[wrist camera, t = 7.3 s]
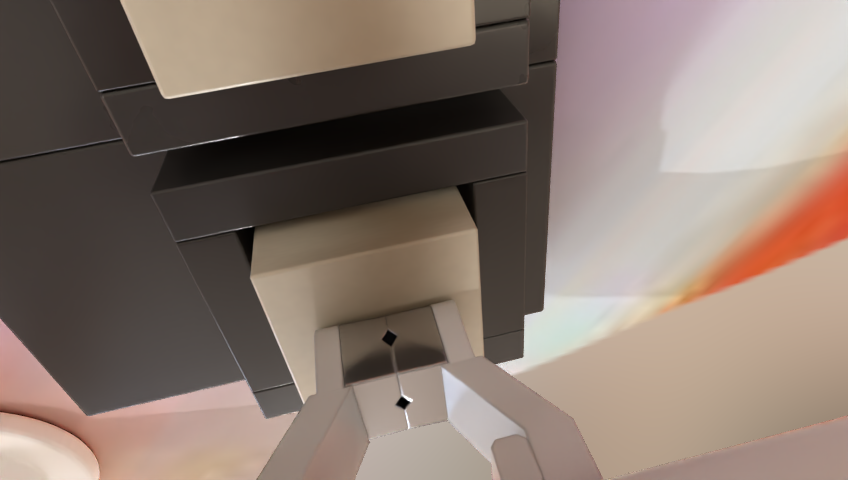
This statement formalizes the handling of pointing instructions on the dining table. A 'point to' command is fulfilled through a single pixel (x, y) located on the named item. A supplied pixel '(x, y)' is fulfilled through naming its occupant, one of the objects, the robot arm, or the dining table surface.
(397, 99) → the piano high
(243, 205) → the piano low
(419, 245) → the key low
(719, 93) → the dining table surface
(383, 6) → the key high
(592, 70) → the dining table surface
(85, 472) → the candle
